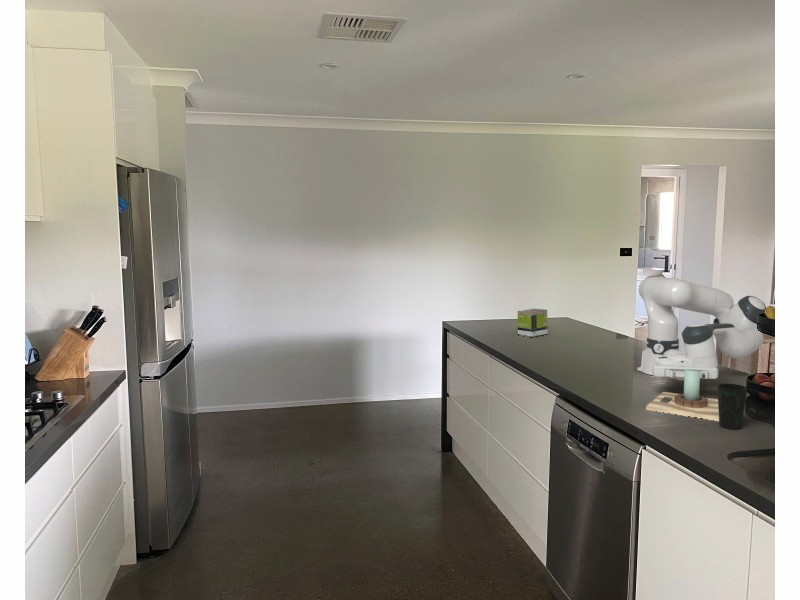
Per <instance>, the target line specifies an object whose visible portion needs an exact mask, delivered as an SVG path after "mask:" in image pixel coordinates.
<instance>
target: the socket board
mask: <svg viewBox="0 0 800 600" xmlns="http://www.w3.org/2000/svg"><path fill="white" fill-rule="evenodd" d="M683 398H684V393H677V392H676V393H674V392H668V391H663V392H661V393H660V394H659V395H657V396H656V397H655V398H654V399H653V400H652V401H650V402H649V403H648V404H647V405H645V410H646V411H652V412H656V411H657V412H658V413H663V412H664V413H665V414H669V413H670V415H675V414H677V416H681V415H682V416H683V417H688V416H690V417H689V418H694V417H697V418H696V419H700V418H703V419H702V420H706V419H707V420H708V421H713V420H714V421H715V422H719V409H718V398H710V397H705V396H702V395H699V401H691V400H685V399H683Z"/></svg>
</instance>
